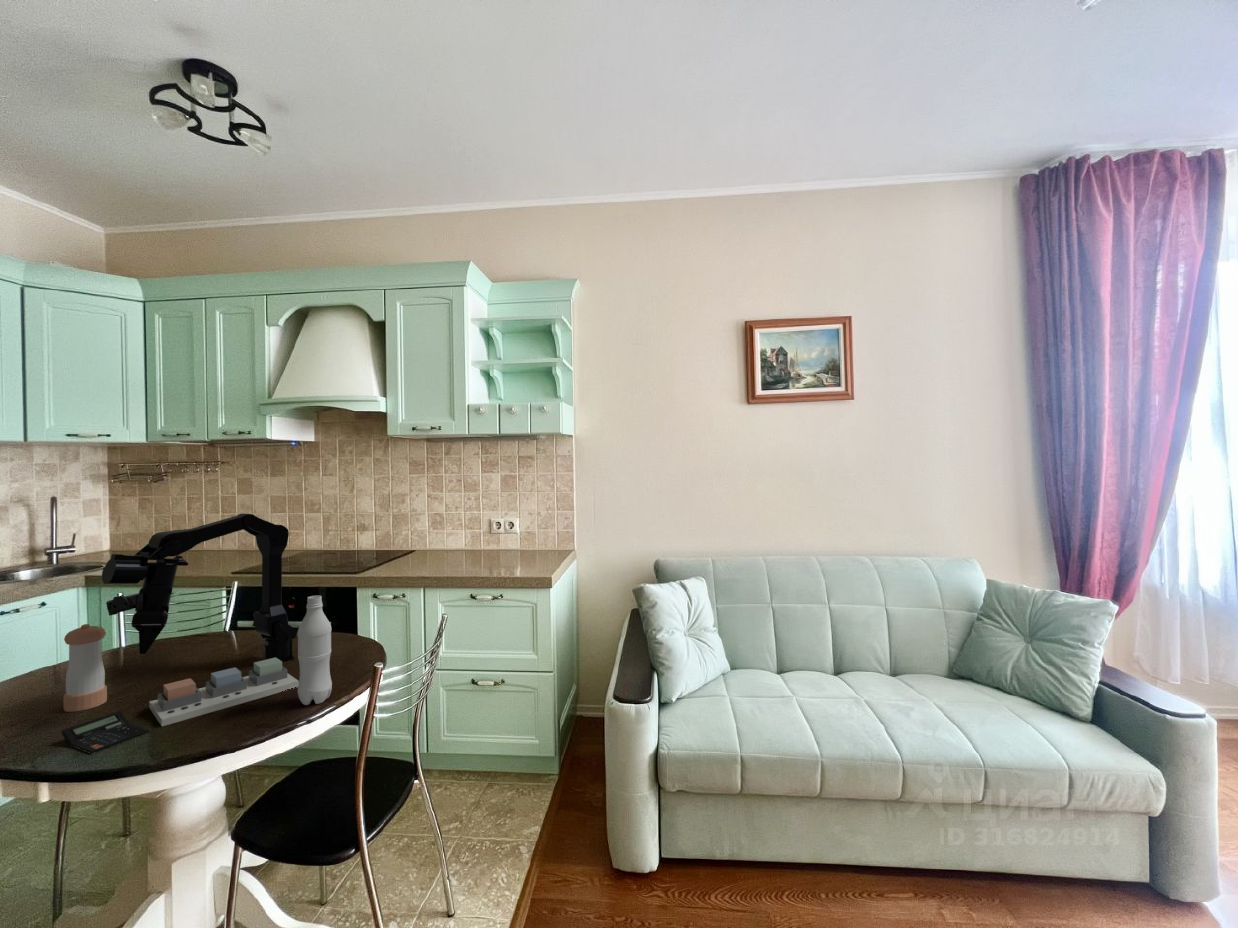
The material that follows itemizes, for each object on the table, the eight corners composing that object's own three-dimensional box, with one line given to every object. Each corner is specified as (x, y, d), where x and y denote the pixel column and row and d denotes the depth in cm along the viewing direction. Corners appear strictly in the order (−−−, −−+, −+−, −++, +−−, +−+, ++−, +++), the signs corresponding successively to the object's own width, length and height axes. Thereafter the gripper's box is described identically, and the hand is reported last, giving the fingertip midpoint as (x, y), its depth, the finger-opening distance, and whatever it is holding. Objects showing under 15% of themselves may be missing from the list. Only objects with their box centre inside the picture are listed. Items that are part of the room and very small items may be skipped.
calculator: (91, 755, 105) (91, 740, 105) (61, 744, 110) (61, 729, 110) (148, 733, 114) (149, 719, 114) (118, 723, 118) (118, 710, 118)
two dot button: (235, 677, 135) (235, 667, 135) (241, 682, 132) (241, 672, 132) (211, 683, 131) (210, 673, 131) (216, 688, 128) (216, 678, 128)
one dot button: (275, 666, 142) (275, 657, 142) (282, 671, 139) (282, 661, 139) (253, 672, 138) (253, 662, 138) (260, 677, 135) (259, 667, 135)
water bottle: (338, 696, 131) (338, 594, 131) (313, 709, 124) (312, 601, 124) (316, 692, 133) (316, 592, 133) (290, 704, 126) (289, 599, 126)
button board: (279, 673, 146) (279, 660, 146) (298, 686, 137) (298, 672, 137) (149, 707, 125) (149, 692, 125) (161, 726, 116) (161, 709, 116)
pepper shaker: (73, 701, 129) (73, 622, 129) (112, 696, 132) (112, 618, 132) (56, 714, 122) (56, 630, 122) (97, 708, 125) (97, 626, 125)
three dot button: (190, 688, 128) (190, 678, 128) (195, 694, 125) (195, 683, 125) (163, 695, 125) (163, 684, 125) (168, 701, 121) (168, 690, 121)
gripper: (117, 579, 133) (102, 644, 130) (110, 586, 118) (92, 659, 116) (174, 581, 140) (161, 643, 137) (174, 587, 125) (159, 657, 123)
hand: (143, 650), depth 128 cm, fingers open, 9 cm apart
